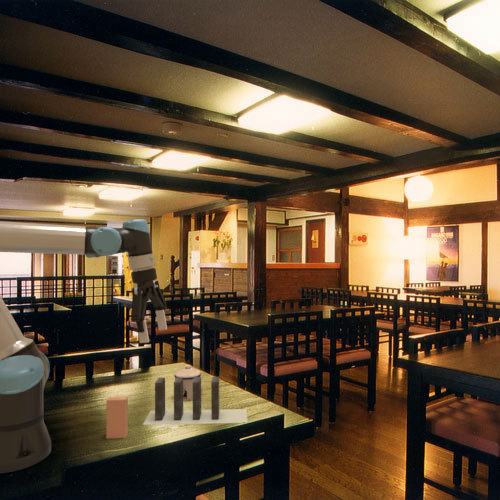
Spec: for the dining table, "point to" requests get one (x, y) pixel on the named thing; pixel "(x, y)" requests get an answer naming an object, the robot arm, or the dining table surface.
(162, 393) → the domino
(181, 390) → the domino
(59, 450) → the dining table surface
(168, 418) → the board
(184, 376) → the teacup with lid
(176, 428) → the dining table surface
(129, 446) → the dining table surface
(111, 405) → the domino
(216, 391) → the domino
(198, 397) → the domino
